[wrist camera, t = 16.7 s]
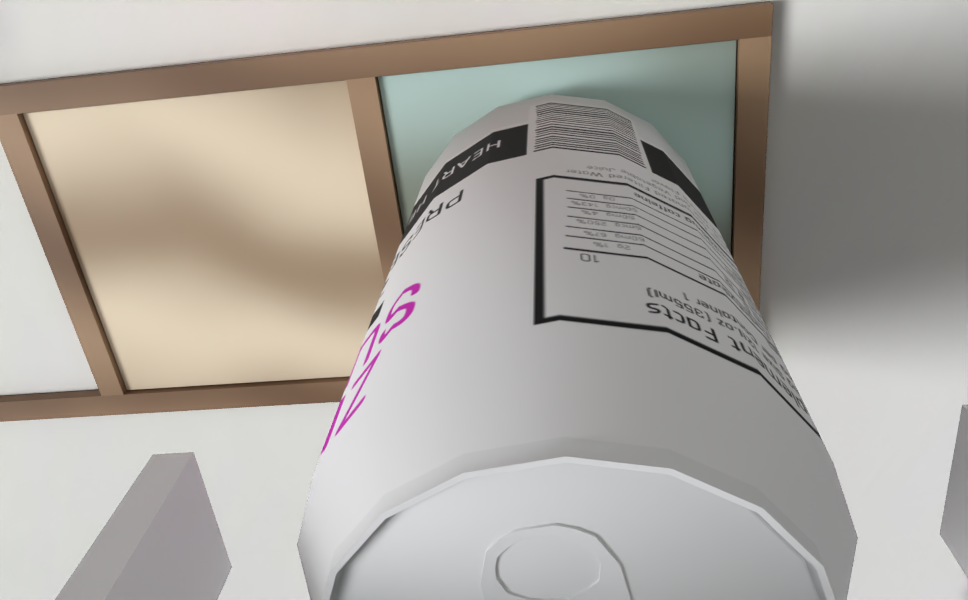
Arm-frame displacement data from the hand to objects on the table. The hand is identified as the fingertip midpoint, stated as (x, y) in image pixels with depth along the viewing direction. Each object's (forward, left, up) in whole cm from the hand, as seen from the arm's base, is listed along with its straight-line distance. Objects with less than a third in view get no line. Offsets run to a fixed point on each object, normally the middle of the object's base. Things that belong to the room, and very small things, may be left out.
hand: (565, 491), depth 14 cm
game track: (0, +10, -12) cm, 15 cm away
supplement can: (0, 0, -11) cm, 11 cm away
